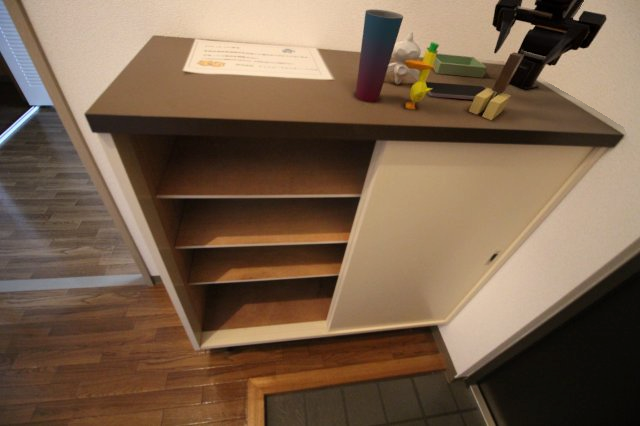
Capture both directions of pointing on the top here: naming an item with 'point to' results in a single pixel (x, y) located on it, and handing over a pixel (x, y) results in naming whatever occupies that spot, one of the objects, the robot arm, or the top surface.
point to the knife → (507, 73)
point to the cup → (376, 51)
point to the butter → (489, 103)
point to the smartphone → (454, 90)
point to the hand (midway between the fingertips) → (517, 58)
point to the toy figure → (421, 74)
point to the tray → (458, 65)
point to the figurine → (404, 58)
